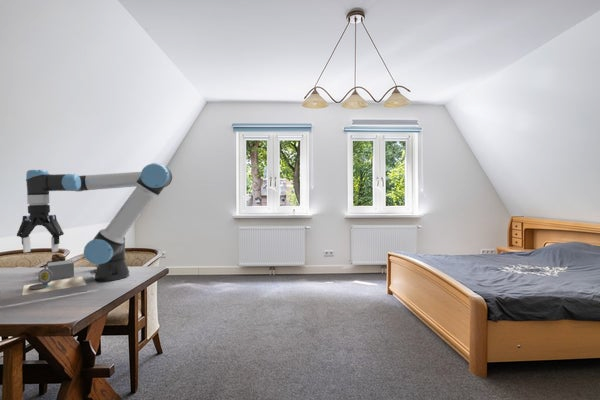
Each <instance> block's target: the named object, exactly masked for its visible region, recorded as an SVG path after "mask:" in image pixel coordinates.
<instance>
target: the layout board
mask: <svg viewBox="0 0 600 400" xmlns="http://www.w3.org/2000/svg"><path fill="white" fill-rule="evenodd" d="M36 284H43V283H42V282H39V283H38V282H37V283H32V284H30V283H29V284H24V285H23V288H22V293H21V295H22V296H28V295H34V294H39V293H46V292H51V291H58V290H64V289H69V288H76V287H81V286H87V282H86V281H85V279H84V278H83V276H77V277H69V278H62V279H56V280H52V281H51V282H49V283H48V286H47V287H44V288H40V289H29V286H32V285H36Z"/></svg>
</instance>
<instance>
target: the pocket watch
mask: <svg viewBox="0 0 600 400" xmlns="http://www.w3.org/2000/svg"><path fill="white" fill-rule="evenodd" d="M47 265H48V264H47V263H46V265H45V263H43V264H42V267H43V269H41V270H39V272H38V275H37V276H38V277H37V278H38V280H39V281H40V282H39V283H43V284H37V283H35V284H36V285H32V286H29V289H40V288H44V287H47V286H48V283H49V282H51V281H53V280H52V279H53V273H52V272H51V271H50V270H49V269H48V266H47ZM48 275H49V276H48ZM48 277H49V278H48Z"/></svg>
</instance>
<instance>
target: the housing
mask: <svg viewBox="0 0 600 400" xmlns="http://www.w3.org/2000/svg"><path fill="white" fill-rule="evenodd" d="M47 269H49V270H50V271H51V272H52V273H53V279H52V281H56V280H63V279H70V278H75V263H74V261H73V259H68V260H65V261H59V262H50V263H48V267H47ZM48 276H49V275H48ZM47 278H49V277H47Z"/></svg>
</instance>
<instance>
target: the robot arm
mask: <svg viewBox="0 0 600 400" xmlns="http://www.w3.org/2000/svg"><path fill="white" fill-rule="evenodd" d="M172 180H173V174H172V172H171V170H170V169H169V168H168V167H167V166H165V165H163V164H162V163H157V162H155V163H154V162H153V163H152V162H151V163H149V164H147V165H145V166H144V167H143V168H142V170H141V171H130V172H116V173H102V174H89V175H87V174H86V175H85V174H84V175H78V174H76V173H73V174H72V173H65V174H64V173H63V174H61V173H60V174H57V173H56V174H50V173H49V171H48V170H47V169H46V170H45V169H28V170H27V171H26V179H25V181H26V193H27V194H26V195H27V196H26V197H27V200H26V202H27V204H28V205H27V213H28V214H29V215H22V219H21V220H22V221H21V224H20V226H19V228H18V231H17V233H16V237H20V238H21V245H22V252H23V253H30V252H31V236H30V235H31V233H32V232H33V230H34V229H35V227H37V226H42V227H44V228H45V229H46V230H47V232H48V233H49V234H51V237H50V241H51V242H50V243H51V244H50V245H51V253H56V252H59V251H60V250H59V249H60V248H59V244H60V237H61V236H63V235H64V234H65V233H64V231H63V229H62V227H61V225H60V223H59V222H58V220H57V215H56V214H49V213H50V212H51V207H50V192H60V191H61V192H63V191H64V192H77V193H78V192H84V191H95V190H105V189H106V190H109V189H110V190H111V189H121V188H122V189H123V188H132V187H133V188H134V187H135V188H134V190H133V191H132V192H131V194H130V195H129V197H128V198H127V199H126V201H125V202H124V203H123V205H122V206H121V207H120V208H119V210H118V211H117V213H116V214H115V215H114V217H113V218H112V220H111V221H110V222H109V224H108V225H107V226H106V227H105V228H102V229H100V230H99V231H98V232H97V234H96V235H95V236H94V238H93V239H91V240H89V241H88V242H87V244H85V246H84V249H83V255H84V258H85V260H86V261H88V262H89V263H91V264H92V265H96V264H98V267H97V268H96V270H95V274H94V280H95V281H97V282H108V281H110V282H111V281H118V280H121V279H125V278H128V277H129V276H130V269H129V267H128V265H127V261H126V235H127V233H128V232H129V231H130V230H131V228H132V226H133V225H134V224H135V222H136V221H137V220H138V218H139V217H140V216H141V214H142V213H143V211H144V210H145V209H146V207H147V206H148V205H149V203H150V202H151V200H153V198H154V197H157V196H159V195H160V194H161V192H163V190H164V188H166V187H168V186H169V185H170V184H171V183H172Z"/></svg>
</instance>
